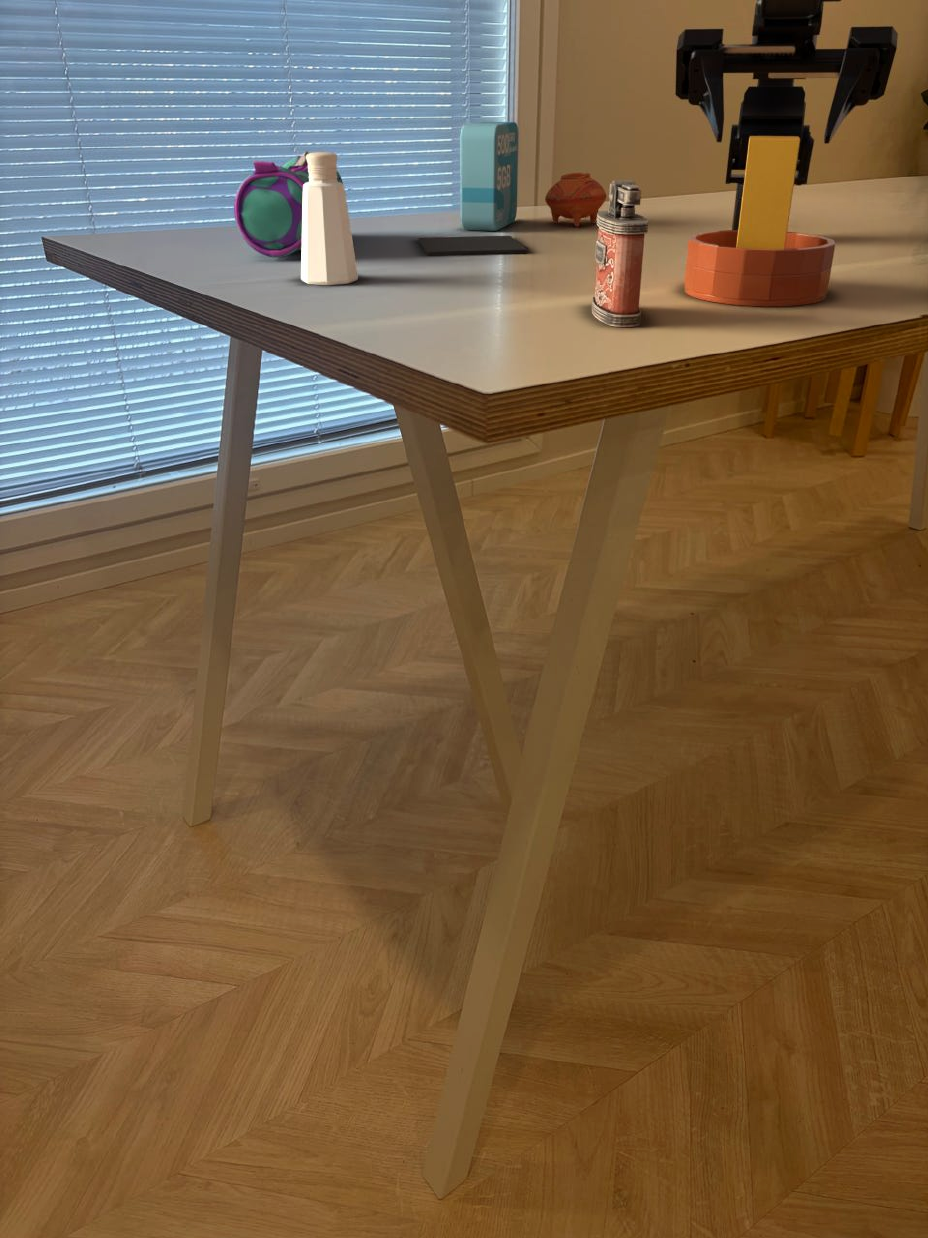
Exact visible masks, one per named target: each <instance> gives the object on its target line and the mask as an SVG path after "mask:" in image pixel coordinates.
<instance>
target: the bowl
mask: <svg viewBox="0 0 928 1238" xmlns="http://www.w3.org/2000/svg"><path fill="white" fill-rule="evenodd" d="M737 237H738V230H732V229H728V230H727V229H725V230H724V229H723V230H713V231H704V232H703V231H702V232H699V233H698V232H697V233H696V234H691V235H690V236H689V238H688V244H687V252H686V253H687V254H686V264H685V265H686V266H685V274H684V283H683V284H684V285H683V286H684V292H685V294H687V295H688V296H690V297H693V298H695V299H698V300H703V301H707V302H713V303H717V304H725V305H733V306H745V307H746V306H747V307H793V306H802V305H810V304H816V303H818V302H822V301H823V300H825V298H826V297H827V293H828V290H829V284H830V279H831V273H832V267H833V260H834V255H835V249H836V242H835V239H831V238H828V237H826V236H822V235H817V234H812V233H805V232H796V231H787V235H786V242H785V249H755V248H739V247H736V245H737Z"/></svg>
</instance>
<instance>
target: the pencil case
mask: <svg viewBox="0 0 928 1238" xmlns="http://www.w3.org/2000/svg"><path fill="white" fill-rule="evenodd" d="M309 153H310V152H309V151H308V150H307V149H306V150H305V151H304V152H303V153H302V154H301V155H299V154H298V155H296V156H295V157H293V158H291V159H290V160H288V161H287V162H286V163H285V164H284V165H283V166H279V165H276V164H275V163H274V162H273V161H260V160H254V161H253V167H254V171H253V172H252V173H250V174H249V175H248V176H247V177H246V178H245V179H243V181H241V183H240V185H239V186H238V188H237V191H236V193H235V197H234V203H233V216H234V221H235V225H236V228H237V230H238V232H239V234H240V236H241V238H242V240H243V241H244V242H245V243H246V244H247V245H248V247H250V248H251V249H253V250H254V251H255V252H257V253H258V254H260V255H263V256H266V257H269V258H272V259H273V258H274V259H280V258H284V257H287V256H289V255H292V254H294V253H296V252H298V251H302V205H303V185H304V184H305V183H307V182H309V172H308V171H309V170H308V162H307V159H306V155H307V154H309ZM336 173H337V182H340V183H342V184H344V182H343V179H342V177H341V176H342V175H340V172H339V171H338V170H337V172H336Z"/></svg>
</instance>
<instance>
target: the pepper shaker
mask: <svg viewBox="0 0 928 1238" xmlns="http://www.w3.org/2000/svg"><path fill="white" fill-rule="evenodd" d="M308 153H309V154H307V155H306V159H307V162H308V170H309V171H308V172H309V182H307V183H305V184H304V185H303V205H302V249H301V255H300V257H301V260H300V280H301V281H302V282H304V283H306V284H307V285H318V286H334V285H335V286H336V285H346V284H350V283H353V282H355V281H357V280H358V279H359V275H358V269H357V261H356V255H355V249H354V243H353V235H352V229H351V223H350V221H351V220H350V215H349V208H348V202H347V195H346V190H345V185H344V183H343V184H342V183H340V182H337V173H336V172H337V171H338V168H337V167H338V166H337V162H338V155H337V153H334V152H331V151H330V152H327V151H326V152H325V151H324V152H323V151H321V152H319V151H318V152H308Z"/></svg>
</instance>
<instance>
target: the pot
mask: <svg viewBox="0 0 928 1238" xmlns="http://www.w3.org/2000/svg"><path fill="white" fill-rule="evenodd" d="M607 197H608V196H607V194H606V191H605V188H604V187H603V185H601V183H600V182H599V181H597V180H596V179H594V178H593V177H591V174H590V173H588V172H587V173H583V172H573V173H572V172H571V173H566V174H563V175H561V176H560V179H559V180H558V181H557V182H555V183H554V185H552V186H551V187H550V188H549V190H548V191H547V193H546V195H545V197H544V200H545V201H544V202H545V203H546V205H547V206H548V207H549V209H550V213H551V219H552V221H553V222H554V223H556V224H559V220H560V217H562V218H564V219H570V220H573V222H574V223H573V224H574V227H576V228H579V226H580V223H581V219H585V218H587V217H589V221H590V223H592V224H594V223H596V222H597V212H599V209H600V208H601V207H602V206H603V205H604V203H605V202H606V200H607Z"/></svg>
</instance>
